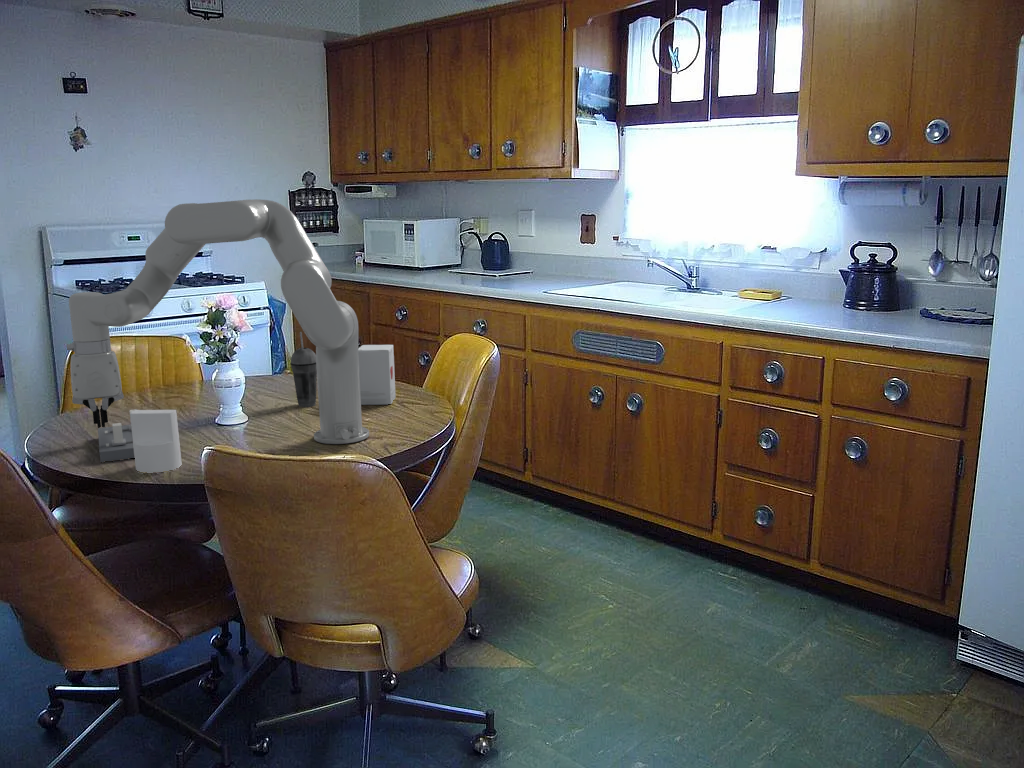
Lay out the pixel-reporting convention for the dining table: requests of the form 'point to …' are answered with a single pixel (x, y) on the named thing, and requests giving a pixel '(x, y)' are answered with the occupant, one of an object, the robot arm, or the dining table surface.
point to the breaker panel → (116, 451)
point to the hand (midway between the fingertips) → (101, 426)
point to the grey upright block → (155, 440)
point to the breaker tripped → (130, 419)
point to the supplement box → (376, 374)
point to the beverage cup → (304, 375)
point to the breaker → (118, 435)
